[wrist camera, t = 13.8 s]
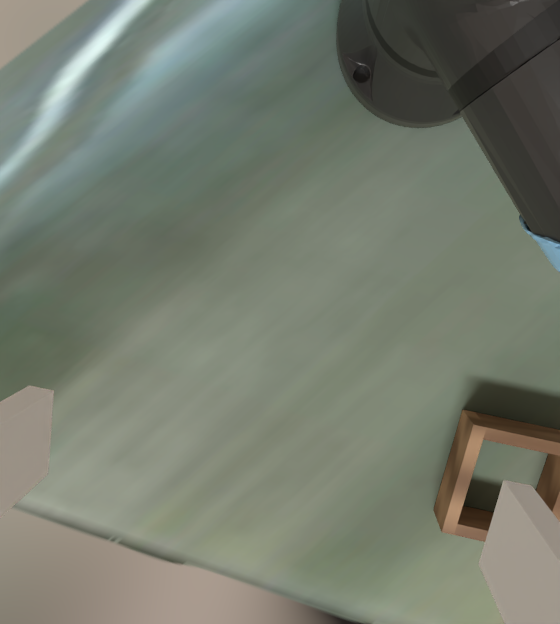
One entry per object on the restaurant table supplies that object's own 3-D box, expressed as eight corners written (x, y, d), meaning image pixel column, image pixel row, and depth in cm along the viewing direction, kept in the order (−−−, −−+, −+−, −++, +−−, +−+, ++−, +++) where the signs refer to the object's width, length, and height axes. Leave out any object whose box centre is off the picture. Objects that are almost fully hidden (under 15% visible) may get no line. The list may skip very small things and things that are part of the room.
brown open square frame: (462, 409, 46) (473, 424, 43) (569, 431, 46) (589, 449, 42) (433, 509, 48) (441, 531, 45) (534, 532, 48) (550, 556, 44)
